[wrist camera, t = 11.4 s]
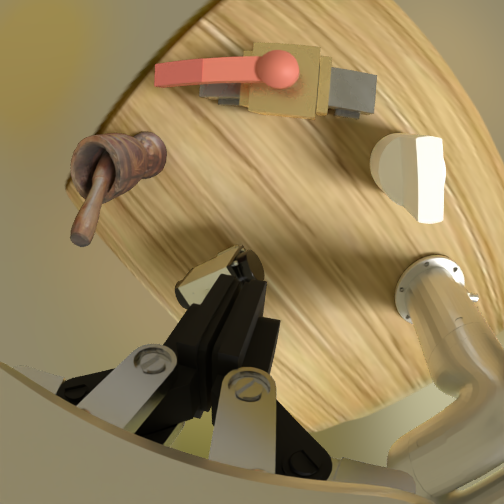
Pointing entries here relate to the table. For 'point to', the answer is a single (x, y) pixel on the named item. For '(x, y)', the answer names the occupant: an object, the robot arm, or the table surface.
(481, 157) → the table surface
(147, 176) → the mortar and pestle
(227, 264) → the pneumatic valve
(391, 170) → the cylinder with rectangular tab
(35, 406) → the robot arm
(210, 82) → the lever
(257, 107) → the valve pipe
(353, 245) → the table surface
